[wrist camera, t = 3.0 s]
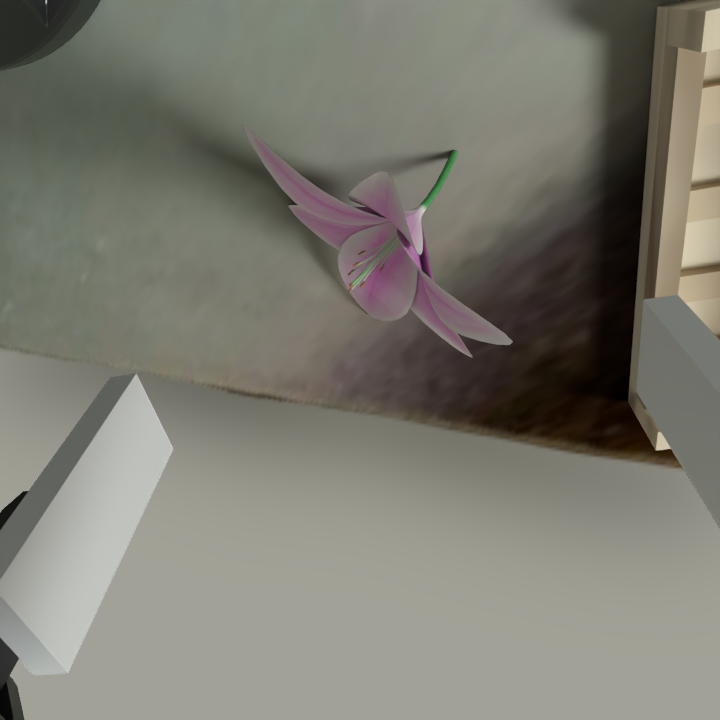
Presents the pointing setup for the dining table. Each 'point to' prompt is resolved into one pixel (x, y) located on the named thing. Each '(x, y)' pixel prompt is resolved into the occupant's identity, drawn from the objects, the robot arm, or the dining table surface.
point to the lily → (381, 249)
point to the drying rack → (681, 177)
